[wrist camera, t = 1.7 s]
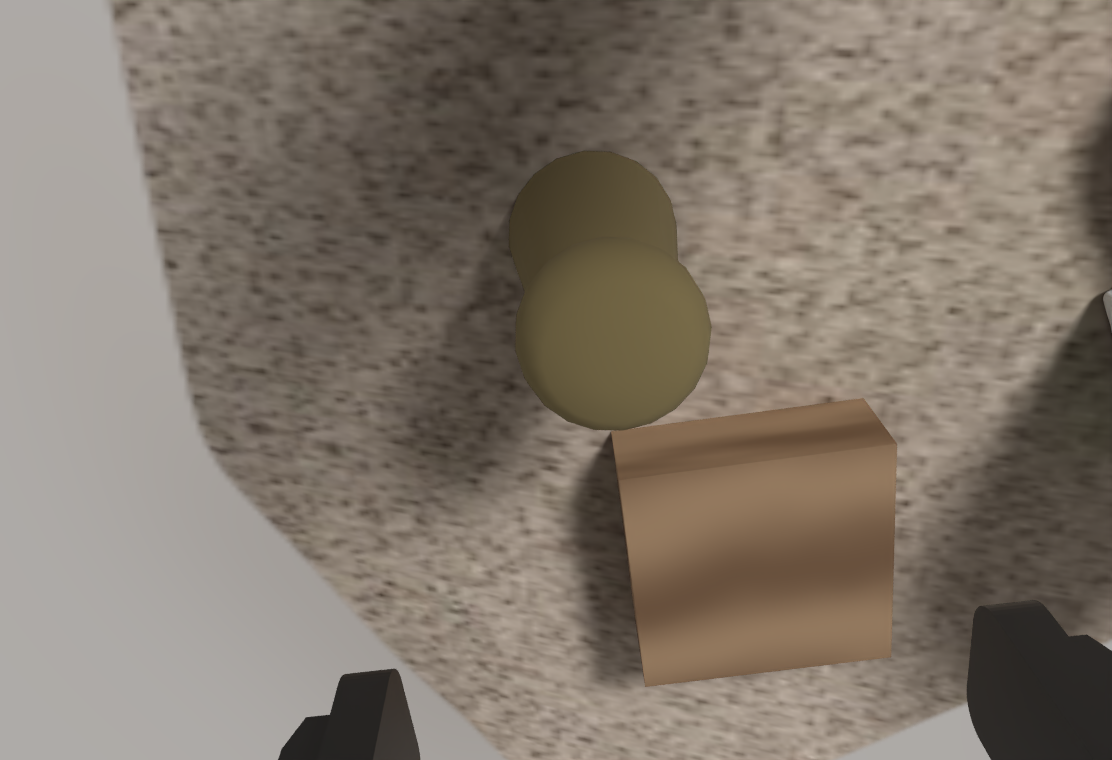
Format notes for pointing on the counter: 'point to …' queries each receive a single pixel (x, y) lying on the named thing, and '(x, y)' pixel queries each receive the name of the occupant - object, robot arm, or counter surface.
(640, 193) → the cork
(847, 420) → the walnut block
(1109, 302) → the skincare box
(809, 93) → the counter surface
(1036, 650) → the robot arm
